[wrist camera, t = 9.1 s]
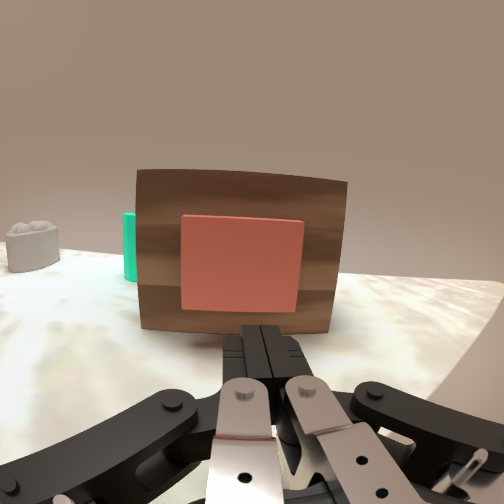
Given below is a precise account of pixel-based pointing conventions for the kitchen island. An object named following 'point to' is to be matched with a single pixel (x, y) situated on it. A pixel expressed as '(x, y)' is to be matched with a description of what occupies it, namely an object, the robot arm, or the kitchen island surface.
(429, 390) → the kitchen island surface
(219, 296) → the coral square plate
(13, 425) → the kitchen island surface
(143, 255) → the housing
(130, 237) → the candle
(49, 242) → the lumpy-topped squat cylinder
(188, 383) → the kitchen island surface
